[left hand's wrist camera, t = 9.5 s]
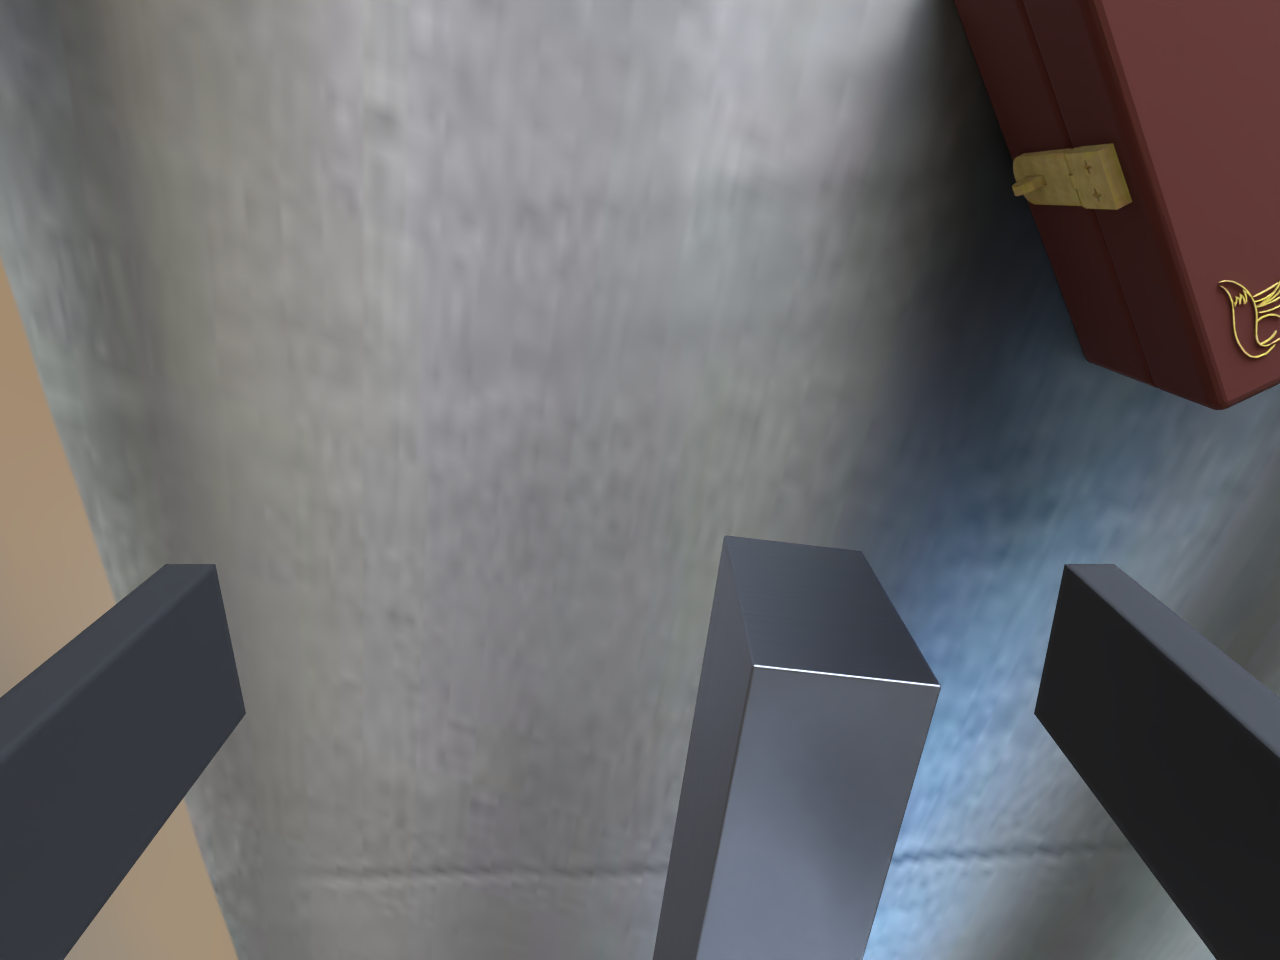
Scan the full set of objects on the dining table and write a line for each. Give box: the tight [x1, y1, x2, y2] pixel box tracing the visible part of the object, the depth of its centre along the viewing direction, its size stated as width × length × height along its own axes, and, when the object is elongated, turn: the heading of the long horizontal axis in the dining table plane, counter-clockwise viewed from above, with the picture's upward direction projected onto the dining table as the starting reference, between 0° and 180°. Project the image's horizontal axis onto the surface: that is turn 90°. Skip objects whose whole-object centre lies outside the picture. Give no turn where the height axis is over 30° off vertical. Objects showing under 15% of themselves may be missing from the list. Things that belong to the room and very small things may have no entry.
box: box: [954, 0, 1280, 410], centre depth 32 cm, size 21×16×10 cm
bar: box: [653, 536, 941, 960], centre depth 29 cm, size 23×5×9 cm, turn 173°
